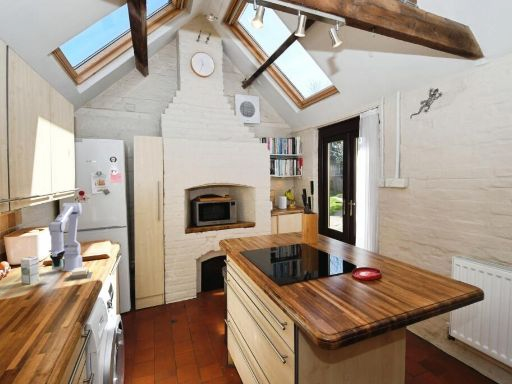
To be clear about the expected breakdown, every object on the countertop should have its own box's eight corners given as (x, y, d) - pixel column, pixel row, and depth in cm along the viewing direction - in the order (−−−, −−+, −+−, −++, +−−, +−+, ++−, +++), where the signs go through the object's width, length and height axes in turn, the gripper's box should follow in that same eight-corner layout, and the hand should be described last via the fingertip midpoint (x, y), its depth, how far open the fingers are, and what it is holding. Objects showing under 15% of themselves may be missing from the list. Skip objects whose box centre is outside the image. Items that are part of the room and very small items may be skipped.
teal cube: (54, 267, 153) (54, 259, 152) (63, 266, 155) (63, 259, 154) (52, 269, 149) (52, 262, 148) (61, 268, 151) (61, 261, 150)
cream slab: (74, 271, 160) (74, 268, 160) (87, 270, 163) (87, 266, 163) (72, 275, 154) (72, 272, 154) (86, 273, 157) (86, 270, 157)
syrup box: (39, 280, 152) (39, 256, 151) (30, 284, 146) (29, 259, 146) (31, 280, 153) (30, 255, 152) (21, 284, 147) (20, 258, 146)
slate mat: (70, 275, 161) (70, 274, 161) (92, 272, 167) (92, 271, 167) (66, 282, 150) (66, 281, 150) (90, 278, 156) (90, 278, 156)
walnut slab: (73, 275, 160) (73, 271, 160) (88, 273, 164) (88, 269, 164) (71, 279, 153) (71, 276, 153) (87, 277, 157) (87, 274, 157)
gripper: (52, 240, 156) (52, 262, 156) (45, 246, 143) (45, 270, 143) (66, 239, 159) (67, 261, 159) (60, 244, 146) (61, 268, 146)
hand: (58, 265), depth 152 cm, fingers closed on teal cube, 4 cm apart
